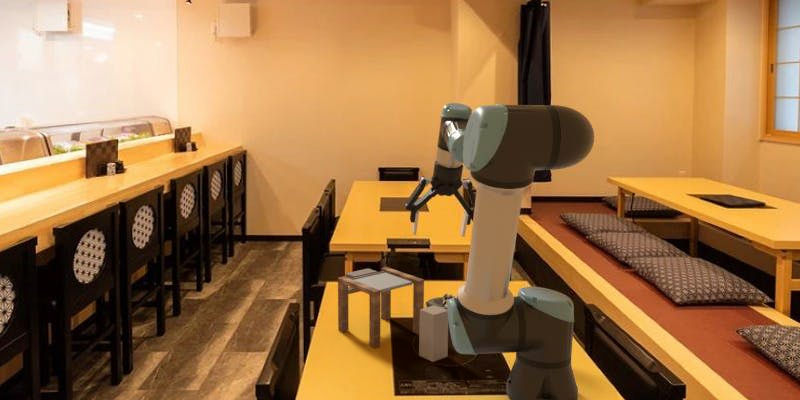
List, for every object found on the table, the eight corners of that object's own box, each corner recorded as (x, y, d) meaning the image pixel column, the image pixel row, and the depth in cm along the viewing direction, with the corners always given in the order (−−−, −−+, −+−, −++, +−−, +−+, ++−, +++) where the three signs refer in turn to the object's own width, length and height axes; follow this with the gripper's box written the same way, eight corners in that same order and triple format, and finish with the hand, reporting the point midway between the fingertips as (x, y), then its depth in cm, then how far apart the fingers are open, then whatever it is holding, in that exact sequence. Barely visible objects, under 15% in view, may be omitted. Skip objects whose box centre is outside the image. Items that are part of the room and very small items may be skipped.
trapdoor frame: (423, 332, 172) (424, 279, 169) (374, 348, 161) (374, 292, 158) (386, 316, 184) (386, 267, 181) (338, 330, 173) (337, 277, 170)
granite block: (447, 356, 156) (448, 310, 154) (432, 361, 153) (433, 314, 151) (433, 350, 160) (434, 305, 158) (419, 355, 157) (419, 309, 155)
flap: (412, 286, 169) (412, 280, 169) (377, 294, 162) (377, 288, 161) (373, 272, 182) (373, 267, 182) (339, 280, 174) (339, 274, 174)
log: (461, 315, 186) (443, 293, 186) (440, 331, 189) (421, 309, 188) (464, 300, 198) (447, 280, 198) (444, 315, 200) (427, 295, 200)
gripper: (492, 159, 169) (479, 228, 179) (400, 154, 166) (392, 224, 175) (498, 170, 163) (485, 241, 172) (403, 165, 159) (395, 238, 168)
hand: (438, 233), depth 173 cm, fingers open, 13 cm apart
